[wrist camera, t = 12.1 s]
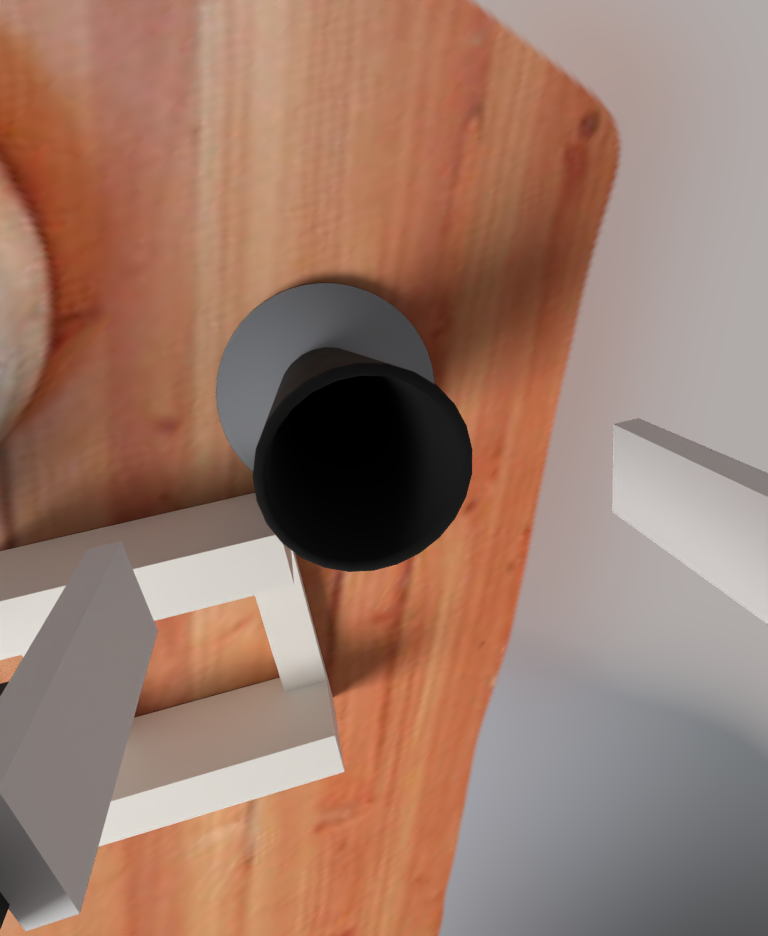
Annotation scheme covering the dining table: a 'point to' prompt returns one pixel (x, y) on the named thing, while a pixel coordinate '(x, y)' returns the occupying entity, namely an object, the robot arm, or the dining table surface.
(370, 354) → the felt pad
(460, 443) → the cup
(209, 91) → the dining table surface
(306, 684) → the block
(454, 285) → the dining table surface
